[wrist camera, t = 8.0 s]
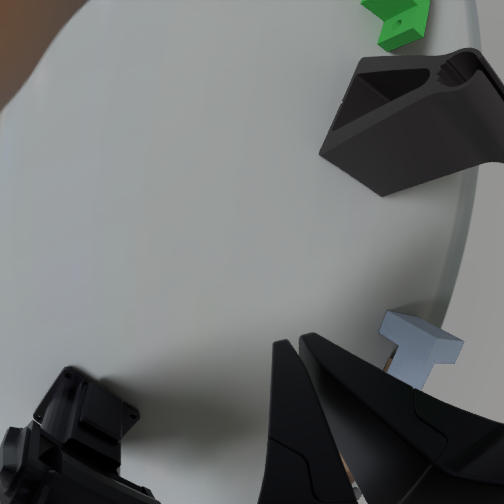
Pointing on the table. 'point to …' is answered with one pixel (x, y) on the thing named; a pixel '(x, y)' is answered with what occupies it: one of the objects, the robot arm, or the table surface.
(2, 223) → the table surface
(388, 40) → the pipe clamp
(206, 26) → the table surface
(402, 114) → the phone stand
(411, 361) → the bracket
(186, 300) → the table surface
